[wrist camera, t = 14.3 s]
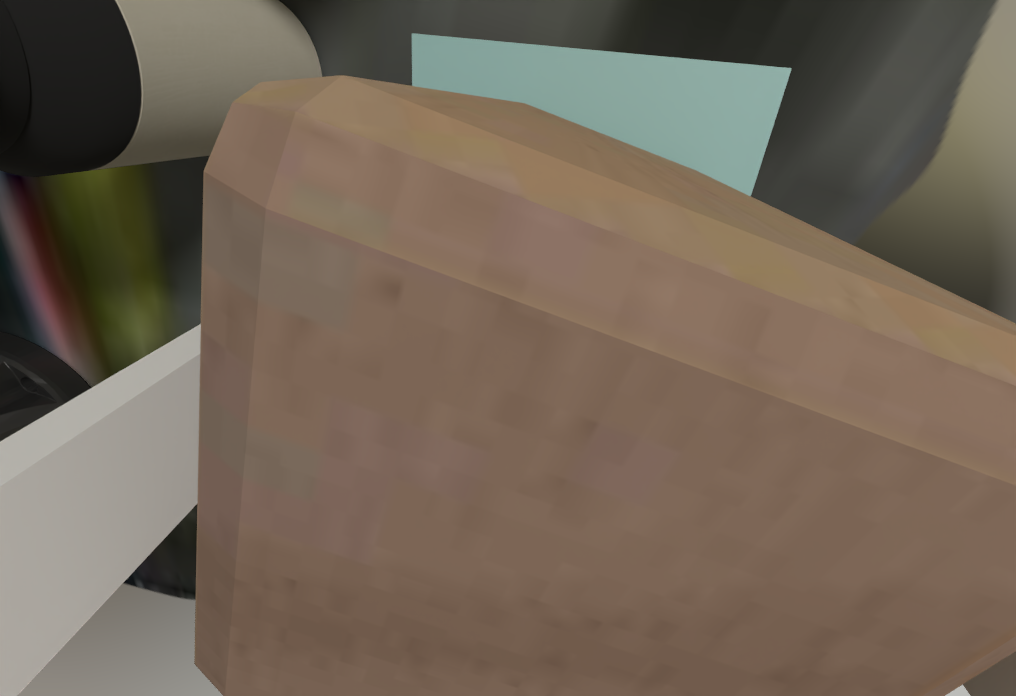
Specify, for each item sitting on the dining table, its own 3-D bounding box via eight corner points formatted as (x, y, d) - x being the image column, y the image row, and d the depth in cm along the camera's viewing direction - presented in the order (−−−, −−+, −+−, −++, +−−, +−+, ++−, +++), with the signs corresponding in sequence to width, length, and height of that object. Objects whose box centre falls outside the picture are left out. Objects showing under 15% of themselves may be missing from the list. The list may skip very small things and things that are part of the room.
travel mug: (330, 11, 25) (-79, -159, 9) (321, 162, 29) (18, 225, 13) (188, -31, 25) (-470, -275, 9) (197, 126, 29) (-260, 146, 13)
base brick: (439, 316, 33) (413, 356, 28) (444, 49, 25) (411, 33, 20) (667, 346, 32) (687, 393, 26) (743, 77, 24) (791, 68, 19)
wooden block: (616, 354, 26) (714, 878, 8) (446, 292, 25) (164, 707, 8) (710, 175, 21) (1407, 500, 4) (505, 95, 21) (132, 10, 3)
